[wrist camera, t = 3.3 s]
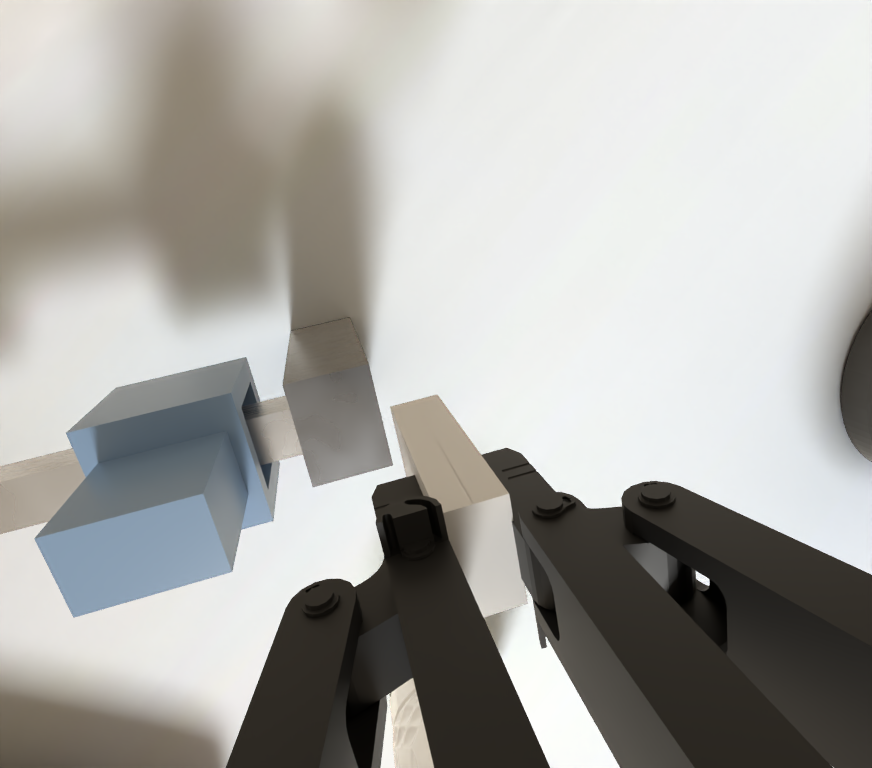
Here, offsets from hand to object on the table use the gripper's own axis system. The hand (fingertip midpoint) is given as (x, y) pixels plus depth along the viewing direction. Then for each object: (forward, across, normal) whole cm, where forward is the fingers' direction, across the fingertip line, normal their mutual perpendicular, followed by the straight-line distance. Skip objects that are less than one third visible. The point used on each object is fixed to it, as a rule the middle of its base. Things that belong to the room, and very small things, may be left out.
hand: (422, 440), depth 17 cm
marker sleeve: (+7, +8, 0) cm, 11 cm away
